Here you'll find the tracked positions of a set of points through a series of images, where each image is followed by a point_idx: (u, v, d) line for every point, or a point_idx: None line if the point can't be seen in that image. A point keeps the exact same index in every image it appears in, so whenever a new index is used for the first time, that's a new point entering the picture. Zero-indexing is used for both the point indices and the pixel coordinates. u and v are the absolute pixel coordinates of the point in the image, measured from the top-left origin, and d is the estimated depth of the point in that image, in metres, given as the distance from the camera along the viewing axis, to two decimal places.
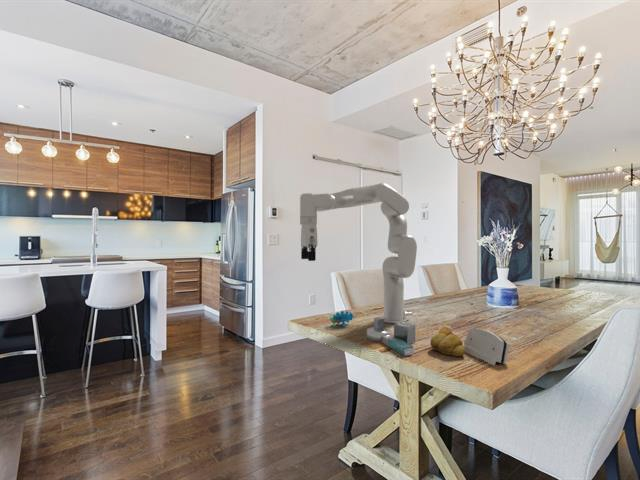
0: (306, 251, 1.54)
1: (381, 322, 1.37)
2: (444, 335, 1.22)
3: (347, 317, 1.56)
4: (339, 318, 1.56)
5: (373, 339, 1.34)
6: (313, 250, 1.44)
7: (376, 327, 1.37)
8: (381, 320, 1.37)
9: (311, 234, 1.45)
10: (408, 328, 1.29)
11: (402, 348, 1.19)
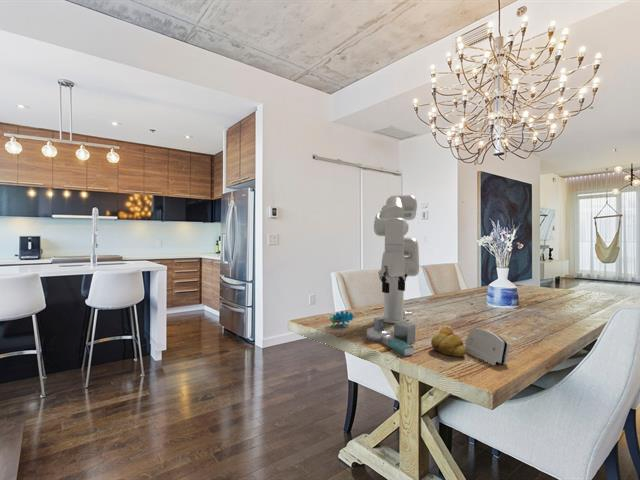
0: None
1: (381, 322, 1.37)
2: (445, 335, 1.21)
3: (347, 317, 1.56)
4: (339, 318, 1.56)
5: (373, 339, 1.34)
6: None
7: (376, 327, 1.37)
8: (381, 320, 1.37)
9: None
10: (408, 328, 1.29)
11: (402, 348, 1.19)
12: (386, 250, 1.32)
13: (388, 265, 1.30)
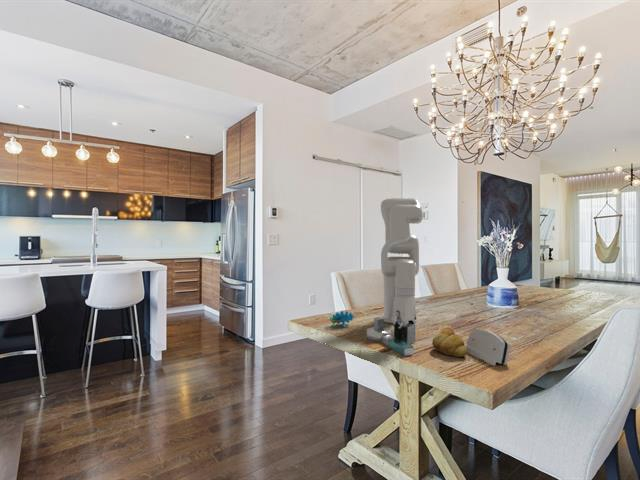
0: None
1: (381, 322, 1.37)
2: (446, 335, 1.21)
3: (347, 317, 1.55)
4: (339, 318, 1.56)
5: (373, 339, 1.34)
6: None
7: (376, 327, 1.37)
8: (381, 320, 1.37)
9: None
10: (408, 328, 1.29)
11: (402, 348, 1.19)
12: (398, 294, 1.30)
13: (400, 310, 1.28)
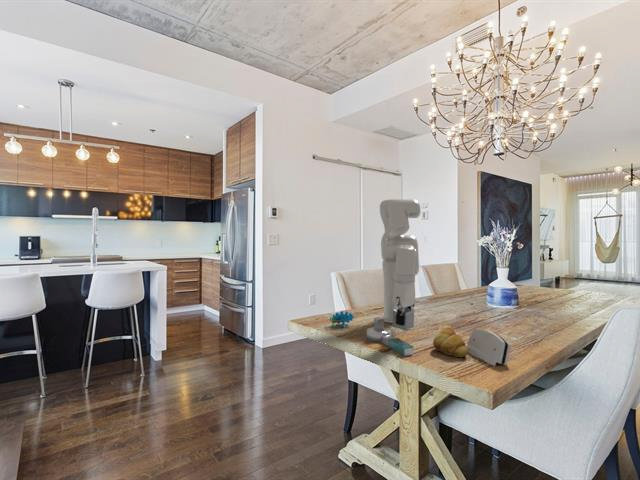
0: None
1: (381, 322, 1.37)
2: (447, 335, 1.21)
3: (347, 317, 1.55)
4: (339, 318, 1.55)
5: (373, 339, 1.34)
6: None
7: (376, 327, 1.37)
8: (381, 320, 1.37)
9: None
10: (407, 313, 1.30)
11: (402, 348, 1.19)
12: (398, 280, 1.31)
13: (400, 297, 1.29)
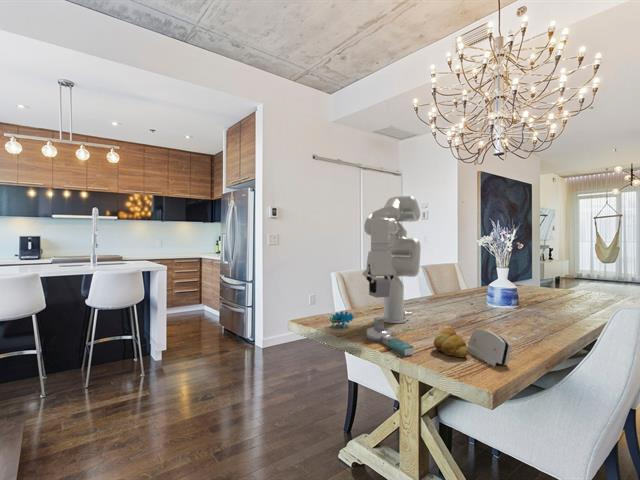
0: None
1: (381, 322, 1.37)
2: (447, 336, 1.21)
3: (347, 317, 1.55)
4: (339, 318, 1.55)
5: (373, 339, 1.34)
6: None
7: (376, 327, 1.37)
8: (381, 320, 1.37)
9: None
10: (378, 281, 1.34)
11: (402, 348, 1.19)
12: (371, 249, 1.37)
13: (370, 264, 1.35)
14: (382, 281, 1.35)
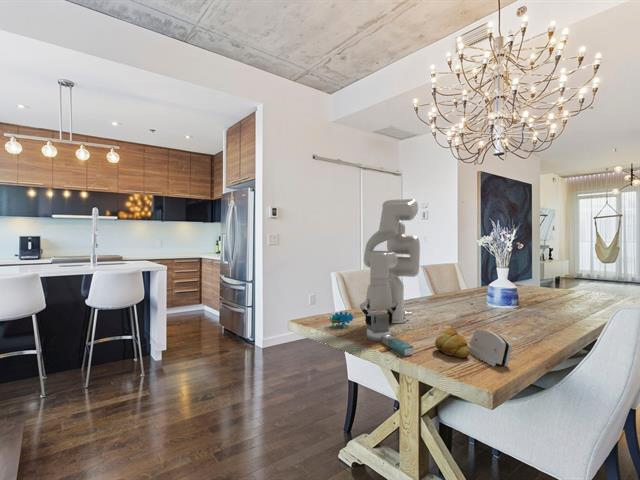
0: None
1: None
2: (449, 336, 1.21)
3: (347, 318, 1.55)
4: (339, 318, 1.55)
5: (373, 339, 1.34)
6: None
7: None
8: None
9: None
10: (377, 316, 1.35)
11: (402, 348, 1.19)
12: (370, 283, 1.37)
13: (370, 299, 1.35)
14: (381, 316, 1.35)
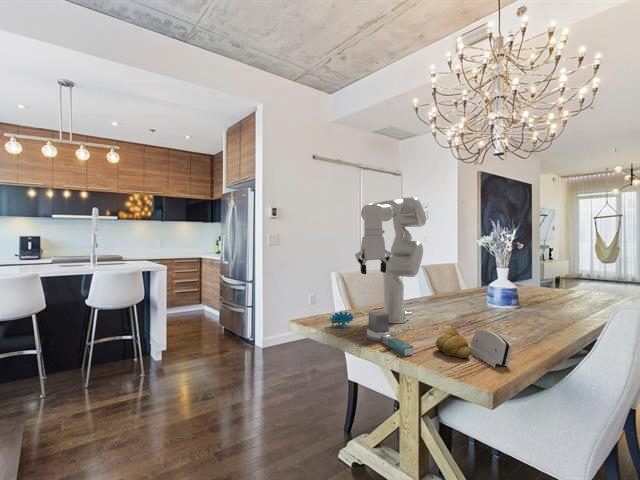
0: None
1: None
2: (449, 336, 1.20)
3: (347, 318, 1.54)
4: (339, 318, 1.55)
5: (373, 339, 1.34)
6: None
7: None
8: None
9: None
10: (377, 316, 1.35)
11: (402, 348, 1.19)
12: (364, 234, 1.43)
13: (364, 249, 1.40)
14: (381, 316, 1.35)
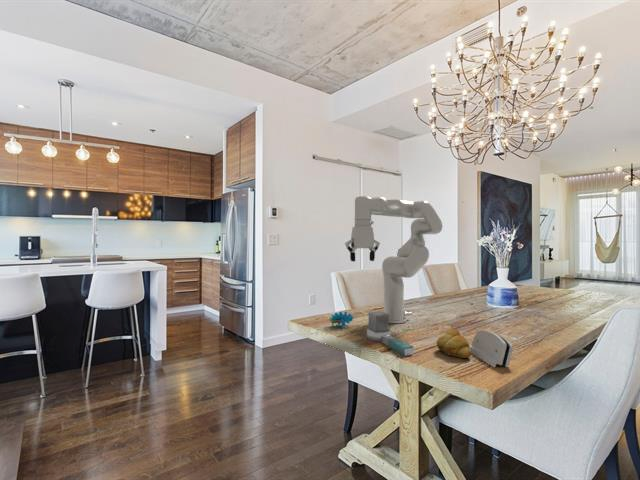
0: None
1: None
2: (450, 336, 1.20)
3: (346, 318, 1.54)
4: (338, 319, 1.55)
5: (373, 339, 1.34)
6: None
7: None
8: None
9: None
10: (377, 316, 1.35)
11: (402, 348, 1.19)
12: None
13: (354, 237, 1.51)
14: (381, 316, 1.35)
